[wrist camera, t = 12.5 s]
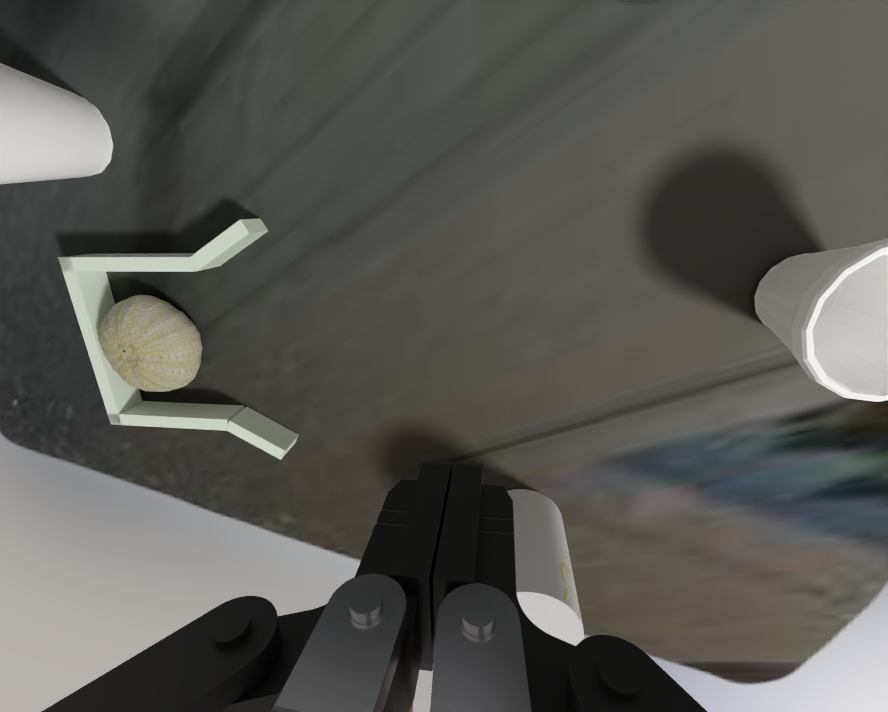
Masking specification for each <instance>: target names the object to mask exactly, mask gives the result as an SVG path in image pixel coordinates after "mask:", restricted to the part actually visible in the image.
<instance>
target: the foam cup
mask: <svg viewBox="0 0 888 712" xmlns="http://www.w3.org/2000/svg"><path fill="white" fill-rule="evenodd" d="M112 149H113V142H112V138H111V134H110V129H109V126H108V124H107V123H106V121H105V119H104V118H103V116H102V114H101V113H100V111H99V110H98V109H97V108H96V107H95V106H94V105H92V104H91V103H90V102H89V101H87V100H86V99H85V98H84V97H80V96H78V95H77V94H74V93H72V92H70V91H67V90H65V89H62V88H60V87H57V86H55V85H53V84H50V83H48V82H45V81H43V80H40V79H38V78H35V77H33V76H31V75H28V74H26V73H23V72H21V71H18V70H16V69H13V68H11V67H9V66H6V65H4V64H1V63H0V184H8V183H20V182H31V181H43V180H55V179H66V178H78V177H84V176H92V175H95V174H99V173H102V172H103V170H104V169H105V168H106V167H107V165H108V164H109V163H110V161H111V155H112Z"/></svg>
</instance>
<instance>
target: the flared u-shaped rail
mask: <svg viewBox="0 0 888 712" xmlns="http://www.w3.org/2000/svg"><path fill="white" fill-rule="evenodd" d="M266 232H268V229H267V228H266V226H265V225H264V223H263V222H262V220H261V219H260V218H259V219H241V220H239V221H237V222H236V223H235V224H233V225H232V226H231V227H229V228H228V229H227V230H225V231H224V232H223V233H221V234H220V235H219V236H217V237H216V238H215V239H213V240H212V241H211V242H209V243H208V244H207V245H205V246H204V247H203V248H201V249H200V250H199V251H197V252H196V253H133V254H82V255H74V256H65V257H58V259H59V262H60V265H61V268H62V271H63V274H64V278H65V281H66V284H67V287H68V290H69V293H70V297H71V300H72V303H73V306H74V309H75V312H76V316H77V319H78V322H79V325H80V328H81V331H82V335H83V338H84V341H85V344H86V347H87V350H88V354H89V357H90V360H91V363H92V366H93V369H94V373H95V376H96V379H97V382H98V385H99V388H100V392H101V395H102V398H103V401H104V404H105V407H106V411H107V414H108V417H109V420H110V423H111V424H114V425H132V426H151V427H169V428H188V429H206V430H225V431H229V432H230V433H232V434H234V435H236V436H238V437H240V438H242V439H243V440H245V441H247V442H249V443H251V444H253V445H254V446H256V447H258V448H260V449H262V450H264V451H266V452H267V453H269V454H271V455H273V456H275V457H277V458H279V459H280V460H281V459H282V458H283V457H284V455H285V454H286V453H287V452H288V451H289V450H290V448H291V447H292V446H293V445H294V444H295V442H296V440H297V438H298V436H299V435H298V434H296V433H295V432H293V431H291V430H289V429H287V428H285V427H284V426H282V425H280V424H278V423H276V422H274V421H273V420H271V419H269V418H267V417H265V416H263V415H262V414H260V413H258V412H256V411H254V410H252V409H251V408H249V407H246V408H244V406H241V405H219V404H197V403H175V402H153V401H142V398H141V394H140V391H139V388H136V387H133V386H130V385H128V384H127V383H126V382H125V381H123V380H122V378H121V377H120V376H119V374H118V373H117V372H116V371H115V370H113V368H112V366H111V364H110V363H109V361H108V360H107V359H106V357H105V356H104V353H103V351H102V348H101V346H100V343H99V340H98V335H97V334H98V331H99V328H100V326H101V323H102V320H103V318H104V317H105V316H106V315H107V314H108V313H109V312H110V310H111V309H112V307H114V306H115V302H114V298H113V295H112V291H111V288H110V284H109V281H108V277H107V274H106V271H160V272H195V271H200V270H204V269H209V268H214V267H217V266H221V265H222V264H223V263H225V262H226V261H227V260H229V259H230V258H232V257H233V256H234V255H236V254H237V253H239V252H240V251H241V250H243V249H244V248H246V247H247V246H248V245H250V244H251V243H253V242H254V241H255V240H257V239H258V238H259V237H261V236H262V235H264V234H265V233H266Z"/></svg>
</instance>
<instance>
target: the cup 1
mask: <svg viewBox="0 0 888 712" xmlns="http://www.w3.org/2000/svg"><path fill="white" fill-rule="evenodd" d="M507 492H508V494H509V495H510V497H511V499H512V500H513V515H514V541H515V567H516V591H517V598H518V601H519V604H520V606H521V608H522V610H523V612H524V613H525V615H526V616H527V617H528V618H529V619H530V621H531V622H532V623H533V624H535V625H536V626H537V627H538V628H540V629H541V630H543V631H544V632H545V633H547V634H549V635H551V636H553V637H556V638H558V639H560V640H563V641H565V642H567V643H570V644H572V645H574V646H576V645H577V644H578V643H580V642H581V641H582V640H583V639H584V630H583V624H582V619H581V614H580V609H579V604H578V599H577V593H576V588H575V583H574V578H573V573H572V567H571V562H570V557H569V552H568V547H567V542H566V536H565V531H564V526H563V521H562V516H561V513H560V511H559V509H558V507H557V506H556V505H555V503H554V502H553V501H552V500H550V499H549V498H548V497H546V496H545V495H543V494H541V493H538V492H536V491H532V490H526V489H514V490H509V491H507Z"/></svg>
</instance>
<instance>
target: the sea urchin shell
mask: <svg viewBox="0 0 888 712" xmlns="http://www.w3.org/2000/svg"><path fill="white" fill-rule="evenodd" d="M97 335H98V340H99V343H100V346H101V348H102V351H103V353H104V356H105V357H106V359H107V360H108V361H109V363H110V364H111V366H112V368H113V370H115V371H116V372H117V373H118V374H119V376H120V377H121V378H122V380H123V381H125V382H126V383H127V384H128V385H130V386H133V387H136V388H139V389H141V390H144V391H149V392H151V391H154V392H157V391H159V392H165V391H168V392H169V391H170V390H173V389H179V388H181V387H184V386H185V385H188V383H190V382H191V381H192V380H194V378H195V376H196V374H197V371H198V369H199V367H200V364H201V363H200V362H201V354H202V352H201V351H202V349H203V348H202V345H201V338H200V333H199V332H198V330H197V328H196V326H195V325H194V324H193V322H192V321H191V320H189V319H188V318H187V316H186V315H185V314H184V313H183V312H181V311H179V310H177V309H176V308H174V307H173V306H172V305H171V304H170V303H168V302H165V301H163V300H160V299H158V298H156V297H154V296H150V295H138V296H137V295H135V296H132V297H130V298H128V299H126V300H123V301H120V302H119V303H116V305H115V306H114V307H112V309H111V310H110V312H109V313H108V314H107V315H106V316H105V317H104V318H103V320H102V323H101V326H100V328H99V331H98V334H97Z"/></svg>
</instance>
